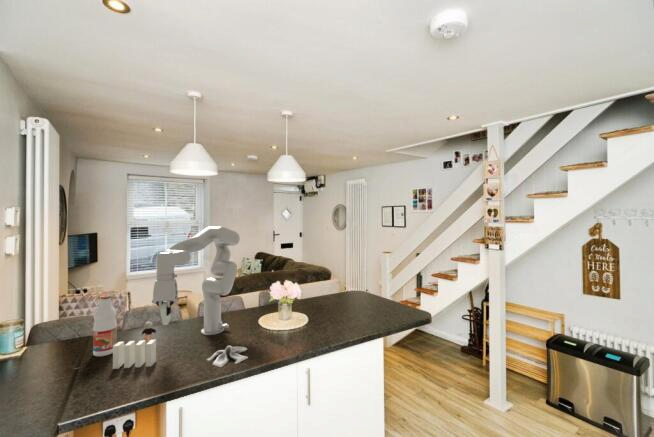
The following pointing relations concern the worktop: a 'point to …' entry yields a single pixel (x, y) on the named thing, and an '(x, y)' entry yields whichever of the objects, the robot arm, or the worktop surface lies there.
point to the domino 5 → (164, 314)
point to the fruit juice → (104, 327)
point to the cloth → (228, 355)
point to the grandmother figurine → (148, 332)
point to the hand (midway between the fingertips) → (165, 314)
